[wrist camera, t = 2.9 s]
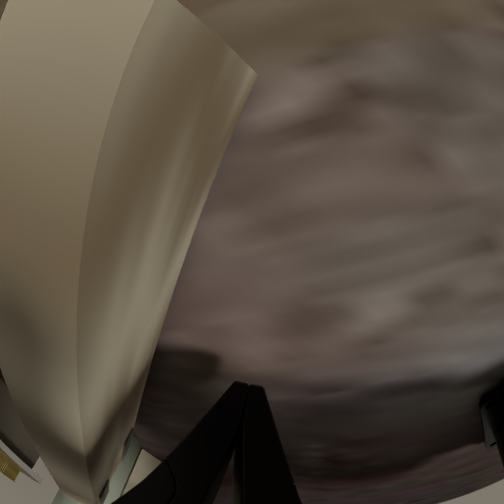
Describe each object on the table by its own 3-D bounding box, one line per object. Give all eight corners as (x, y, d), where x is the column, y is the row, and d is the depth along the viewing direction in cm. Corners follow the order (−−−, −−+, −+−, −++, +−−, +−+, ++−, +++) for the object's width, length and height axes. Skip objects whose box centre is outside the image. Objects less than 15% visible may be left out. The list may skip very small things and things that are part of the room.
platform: (40, 446, 22) (16, 487, 16) (-58, 310, 15) (-102, 350, 9) (122, 477, 20) (97, 533, 14) (-7, 313, 13) (-74, 380, 7)
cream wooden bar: (133, 438, 13) (99, 512, 9) (99, 421, 13) (61, 491, 9) (262, 76, 6) (173, -11, 1) (180, 50, 6) (8, -8, 1)
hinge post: (153, 448, 14) (103, 572, 6) (124, 451, 15) (77, 557, 7) (110, 415, 13) (44, 545, 5) (86, 421, 14) (27, 529, 7)
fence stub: (199, 484, 16) (181, 545, 11) (187, 484, 16) (169, 542, 12) (142, 448, 15) (113, 515, 10) (131, 449, 15) (103, 512, 10)
